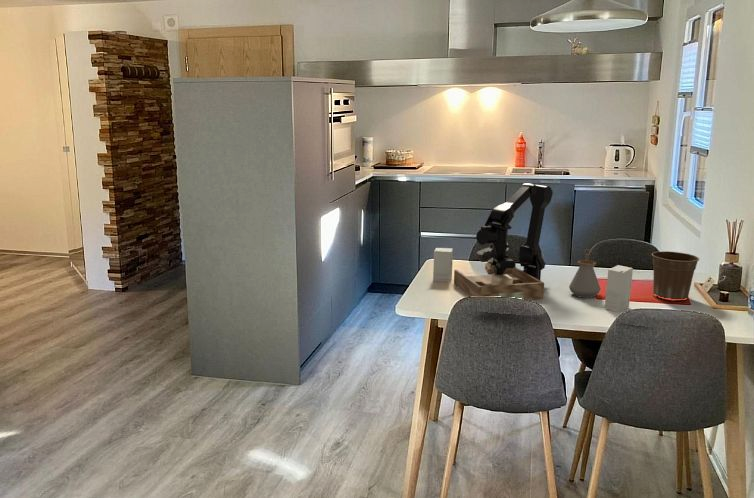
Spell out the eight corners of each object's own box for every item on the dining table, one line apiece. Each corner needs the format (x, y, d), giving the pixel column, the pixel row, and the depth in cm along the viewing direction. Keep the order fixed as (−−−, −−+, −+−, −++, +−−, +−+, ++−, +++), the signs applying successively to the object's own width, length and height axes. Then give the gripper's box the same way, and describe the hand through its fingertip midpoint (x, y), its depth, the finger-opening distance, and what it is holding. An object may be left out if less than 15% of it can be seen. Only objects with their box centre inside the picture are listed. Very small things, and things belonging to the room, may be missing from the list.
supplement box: (450, 282, 271) (451, 251, 269) (432, 281, 273) (433, 251, 270) (452, 277, 278) (453, 248, 276) (434, 276, 280) (435, 247, 277)
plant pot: (691, 293, 258) (695, 252, 254) (697, 305, 242) (702, 262, 239) (645, 289, 262) (649, 249, 259) (649, 301, 247) (654, 258, 243)
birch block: (506, 284, 257) (506, 274, 256) (512, 288, 251) (512, 278, 251) (491, 285, 256) (491, 275, 255) (497, 289, 250) (497, 279, 249)
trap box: (513, 280, 274) (514, 266, 273) (543, 298, 250) (544, 282, 248) (453, 284, 269) (454, 269, 267) (478, 302, 244) (478, 286, 243)
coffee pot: (600, 300, 247) (603, 261, 244) (567, 297, 251) (570, 258, 248) (600, 285, 267) (603, 249, 264) (570, 283, 271) (572, 247, 268)
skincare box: (613, 304, 243) (617, 264, 240) (630, 307, 239) (633, 267, 236) (603, 309, 237) (607, 268, 234) (620, 312, 233) (623, 271, 230)
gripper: (470, 237, 262) (469, 275, 265) (489, 247, 244) (487, 288, 247) (497, 236, 264) (495, 274, 268) (517, 246, 246) (515, 287, 250)
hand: (497, 280), depth 258 cm, fingers closed
